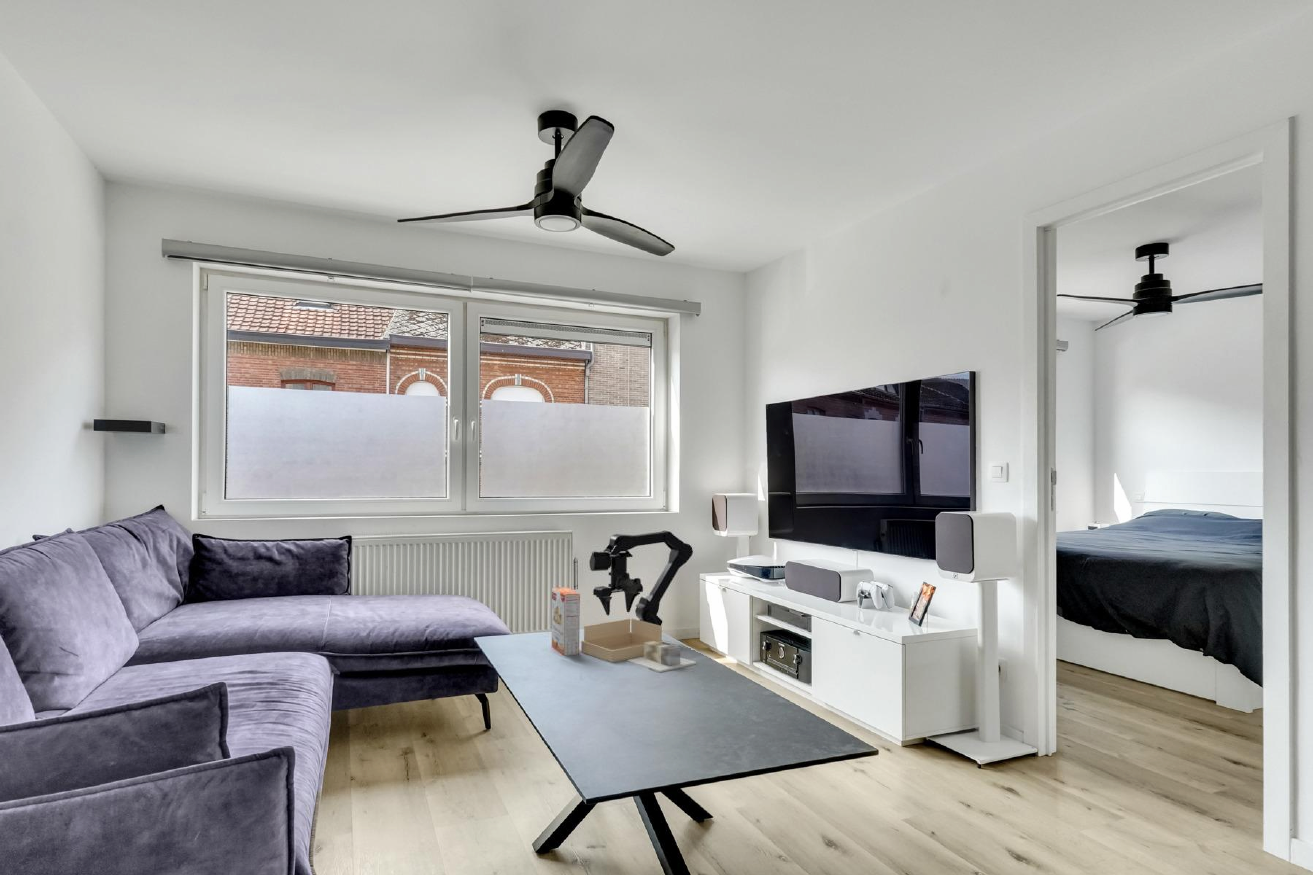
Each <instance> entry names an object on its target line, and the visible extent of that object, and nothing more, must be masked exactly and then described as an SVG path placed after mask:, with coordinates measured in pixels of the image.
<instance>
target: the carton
mask: <svg viewBox="0 0 1313 875" xmlns="http://www.w3.org/2000/svg"><path fill="white" fill-rule="evenodd" d="M583 626H584V627H583V640H581V648H580V650H581V651H580V652H581V653H583V654H585V655H589V656H592V657H595V658H598V659H601V660H604V661H606V662H610V663H615V662H620V661H624V660H626V661H627V660H629V659H634V658H639V657H644V643H645V642H650V641H655V642H658V643H662V644H664V643H663V642H664V641H663V640H662V638H663V626H662V625H661V626H659V625H655V624H651V623H648V622H644V621H640V619H636V618H626V619H621V620H614V621H607V622H601V623H596V624H595V623H594V624H588V625H583Z"/></svg>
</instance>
